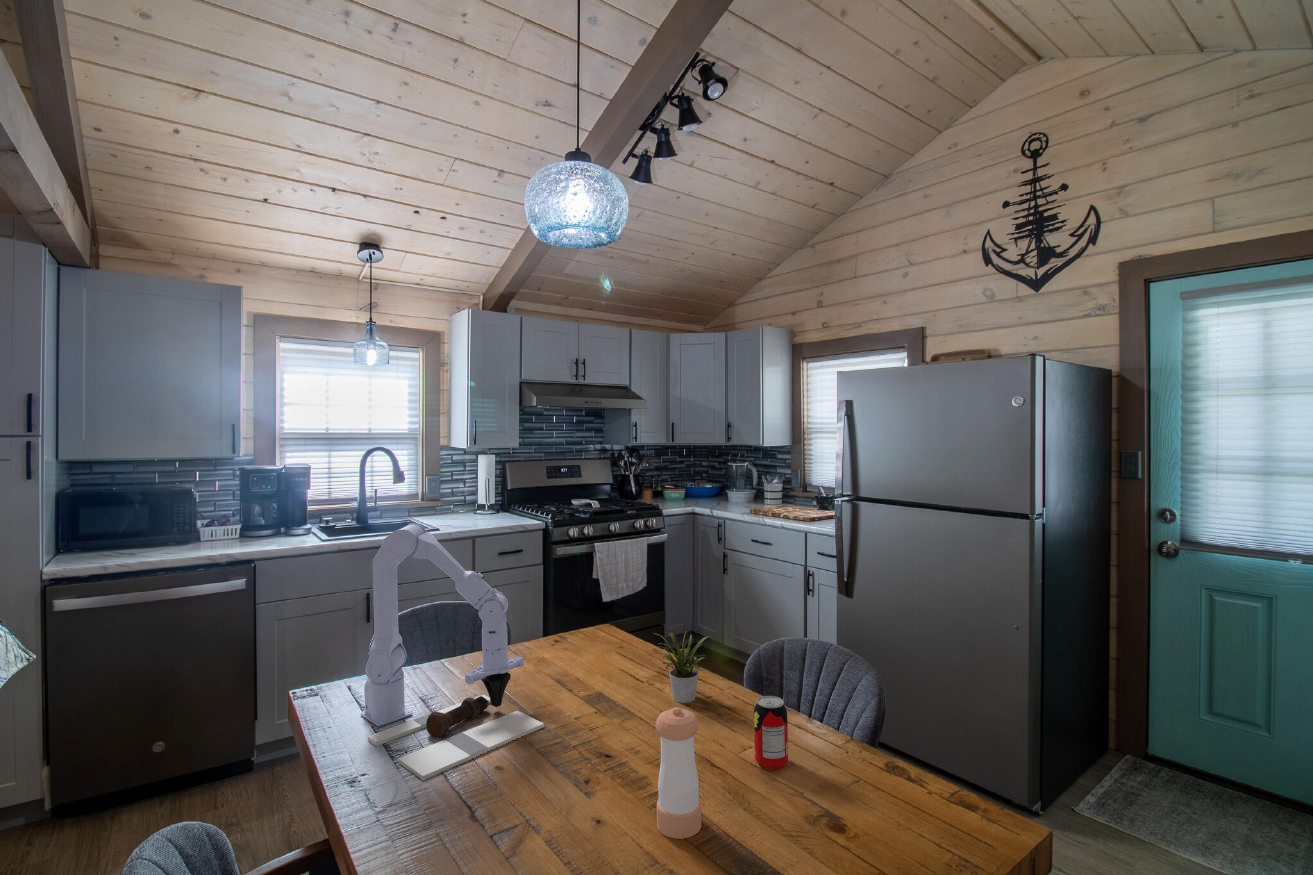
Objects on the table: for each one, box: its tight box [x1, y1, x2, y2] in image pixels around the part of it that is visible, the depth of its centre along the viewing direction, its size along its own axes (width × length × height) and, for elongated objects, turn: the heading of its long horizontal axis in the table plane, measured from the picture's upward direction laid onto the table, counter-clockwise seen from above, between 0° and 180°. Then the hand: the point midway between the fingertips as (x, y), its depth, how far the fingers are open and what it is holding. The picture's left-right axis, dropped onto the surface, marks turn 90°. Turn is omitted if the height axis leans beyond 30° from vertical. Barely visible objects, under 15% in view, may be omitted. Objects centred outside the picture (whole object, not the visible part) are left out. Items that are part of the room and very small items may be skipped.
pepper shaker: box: [655, 706, 702, 840], centre depth 104 cm, size 7×7×19 cm
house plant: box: [652, 630, 710, 704], centre depth 153 cm, size 14×14×16 cm
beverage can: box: [753, 695, 789, 771], centre depth 123 cm, size 6×6×12 cm
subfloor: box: [367, 694, 545, 781], centre depth 138 cm, size 24×28×1 cm
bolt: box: [426, 695, 489, 739], centre depth 143 cm, size 6×5×15 cm
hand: (496, 705), depth 149 cm, fingers closed
